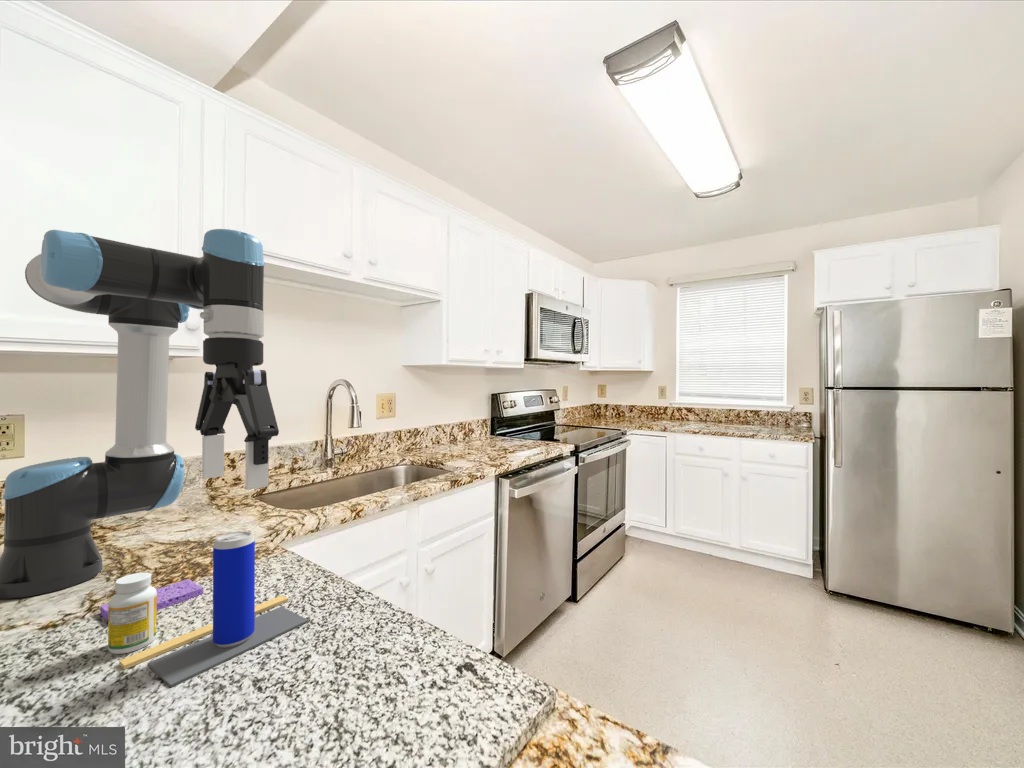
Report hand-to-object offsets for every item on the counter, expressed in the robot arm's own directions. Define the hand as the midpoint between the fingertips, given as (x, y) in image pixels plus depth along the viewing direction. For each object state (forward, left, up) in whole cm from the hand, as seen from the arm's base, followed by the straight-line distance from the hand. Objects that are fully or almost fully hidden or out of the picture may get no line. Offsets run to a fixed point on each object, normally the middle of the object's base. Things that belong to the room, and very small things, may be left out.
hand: (233, 482), depth 64 cm
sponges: (-24, -2, -24) cm, 34 cm away
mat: (0, 0, -23) cm, 23 cm away
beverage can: (0, 0, -23) cm, 23 cm away
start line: (-6, 0, -23) cm, 24 cm away
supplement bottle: (-12, -8, -24) cm, 28 cm away
